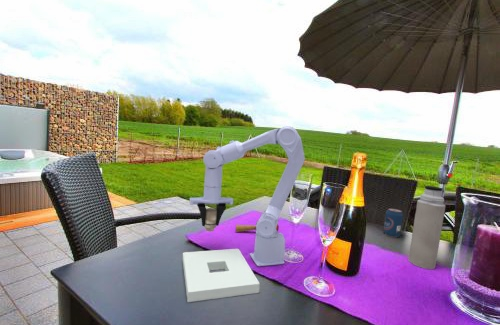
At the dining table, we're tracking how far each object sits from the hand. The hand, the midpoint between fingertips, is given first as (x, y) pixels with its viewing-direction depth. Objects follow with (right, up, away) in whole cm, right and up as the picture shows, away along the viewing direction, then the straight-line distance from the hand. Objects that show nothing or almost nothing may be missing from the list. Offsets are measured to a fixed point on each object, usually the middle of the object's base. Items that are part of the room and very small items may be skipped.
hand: (210, 224), depth 84 cm
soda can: (+80, -13, +31) cm, 87 cm away
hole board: (+4, -11, -14) cm, 18 cm away
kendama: (+16, -9, +19) cm, 27 cm away
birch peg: (0, -2, 0) cm, 2 cm away
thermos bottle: (+75, -15, +4) cm, 77 cm away
